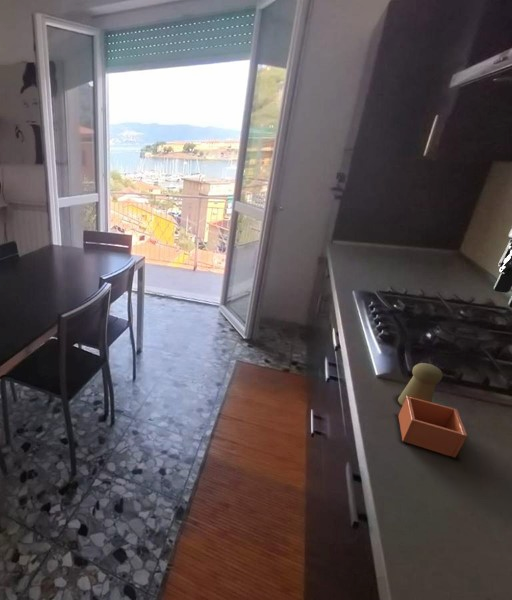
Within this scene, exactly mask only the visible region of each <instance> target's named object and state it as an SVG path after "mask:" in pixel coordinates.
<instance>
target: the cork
mask: <svg viewBox="0 0 512 600" xmlns="http://www.w3.org/2000/svg"><path fill="white" fill-rule="evenodd" d="M442 379H443V372H442V370H441V369H440V368H439V367H437V366H435V365H433V364H430V363H425V362H420V363H417V364H415V365H414V366H413V367H412V377H411V378H410V380H409V381H408V383H407V384H406V386H405V388H404V389H403V391H402V392H401V394H400V395H399V397H398V398H397V402H398V403H399V405H400V406H401V407H402V406H403V404H404V402H405V399H406V397H407V396H409V397H413V398H417V399H421V400H424V401H428V402H432V403H433V397H434V394H435V389H436V385H437V384H438V383H440V382H441V381H442Z"/></svg>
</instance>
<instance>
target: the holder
mask: <svg viewBox="0 0 512 600" xmlns="http://www.w3.org/2000/svg"><path fill="white" fill-rule="evenodd" d="M397 416H398V423H399V428H400V434H401V441H402V442H404V443H407V444H411V445H414V446H417V447H419V448H423V449H425V450H429V451H432V452H436V453H438V454H442V455H445V456H447V457H452V458H455V459H456V457H457V456H458V454H459V452H460V450H461V448H462V447H463V445H464V443H465V441H466V440H467V438H468V434H467V432H466V429H465V427H464V424H463V421H462V419H461V416H460V413H459V410H458V409H457V408H454V407H451V406H446V405H443V404H439V403H437V402H433V401H432V402H428V401H424V400H421V399H417V398H413V397H409V396H407V397H406V399H405V402H404V404H403V406H402V405H401V409H400V411H399V414H398V415H397Z"/></svg>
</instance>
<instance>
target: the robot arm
mask: <svg viewBox="0 0 512 600" xmlns="http://www.w3.org/2000/svg"><path fill="white" fill-rule="evenodd" d="M507 237H508V238H509V240H508V242H507V246H506V247H505V249H504V251H503V254H502V255H501V257H500V259H499V262H498V263H497V266H498V267H499V273H500V274H499V275H498V277H497V280H496V282H495V283H494V286H493V290H494V291H495V292H499V293H505V294H506V293H509V292H510V291H511V289H512V227H511V229H510V230H509V232H508V235H507ZM507 305H508V307H509V308H512V295H511V296H510V298H509V301H508V303H507Z"/></svg>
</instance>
